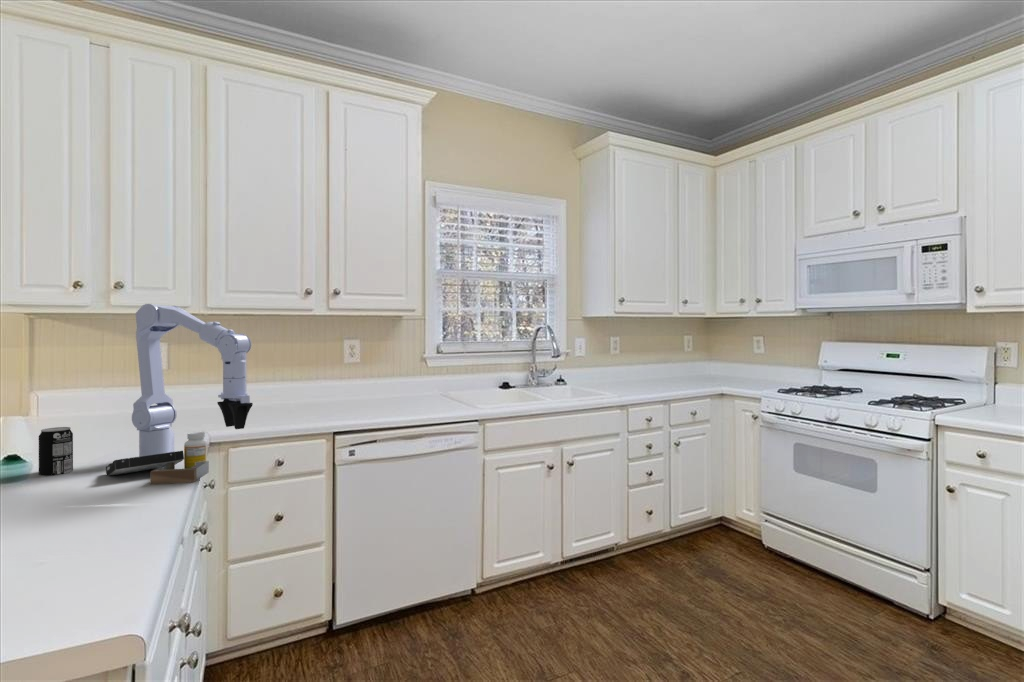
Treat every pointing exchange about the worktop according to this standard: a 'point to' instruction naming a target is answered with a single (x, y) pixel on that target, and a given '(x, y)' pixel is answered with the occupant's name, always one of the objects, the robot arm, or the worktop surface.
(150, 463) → the disk drive
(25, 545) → the worktop surface
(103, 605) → the worktop surface
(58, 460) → the beverage can
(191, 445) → the supplement bottle
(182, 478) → the wood and metal frame
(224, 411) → the robot arm
